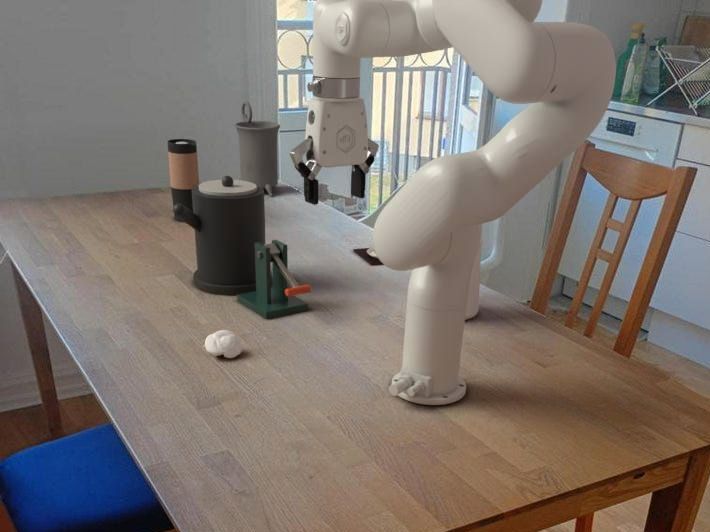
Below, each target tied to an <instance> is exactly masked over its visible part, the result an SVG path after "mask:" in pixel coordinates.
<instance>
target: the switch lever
mask: <svg viewBox="0 0 710 532" xmlns="http://www.w3.org/2000/svg"><path fill="white" fill-rule="evenodd" d="M265 246H267V247H269V248H270V263H272V262H274V264H275V265H276V267H277V268H278V269H279V271H280V272H281V274H282V275H283V276H284V278H285V279H286V281H287V282H288V286H290V287H288V289H285V294H286V296H292V295H294V296H296V295H300V294H301V295H303V294H306V293H310V292H311V291H312V287H311V285H310V284H303V285H299V283H298V282H297V281H296V279H295V278H294V276H293V274H292V273H291V272H290V271H289V269H288V270H287V268H286V267H285V265H284V264H283V263H282V261H281V260H280V258H279V255H280V251H279V250H278V248H277V247H276V245H275V244H274V243H272V242H271V243H266V244H265Z"/></svg>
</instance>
